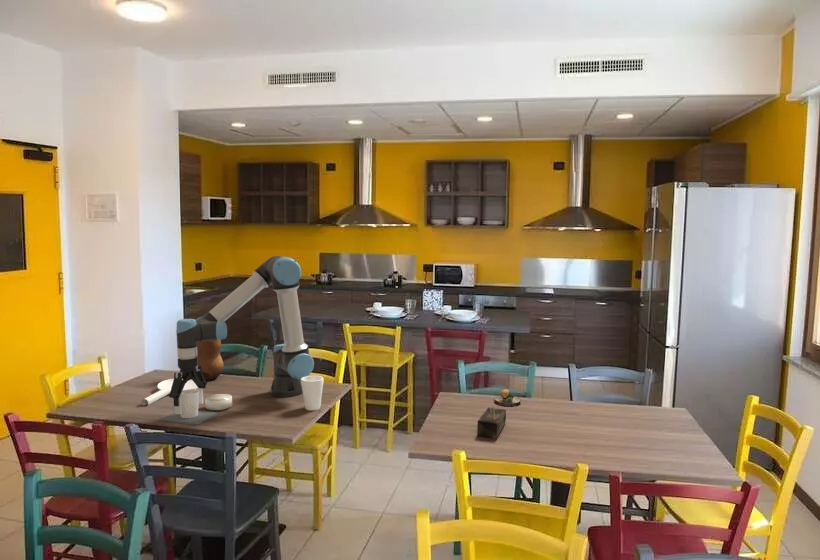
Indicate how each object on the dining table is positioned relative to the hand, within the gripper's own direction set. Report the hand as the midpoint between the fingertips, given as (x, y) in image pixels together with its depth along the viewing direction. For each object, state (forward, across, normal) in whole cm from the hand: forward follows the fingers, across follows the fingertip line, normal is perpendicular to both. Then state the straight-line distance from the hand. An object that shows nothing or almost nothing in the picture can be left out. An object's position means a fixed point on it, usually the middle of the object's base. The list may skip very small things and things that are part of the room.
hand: (189, 408), depth 242 cm
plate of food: (+4, -61, +120) cm, 135 cm away
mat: (+4, 0, 0) cm, 4 cm away
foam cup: (+4, -26, +42) cm, 50 cm away
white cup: (+3, 0, 0) cm, 3 cm away
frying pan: (+4, -24, -30) cm, 39 cm away
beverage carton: (+4, -24, +120) cm, 122 cm away
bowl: (+4, -14, +4) cm, 15 cm away
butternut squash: (+4, -54, -30) cm, 62 cm away
